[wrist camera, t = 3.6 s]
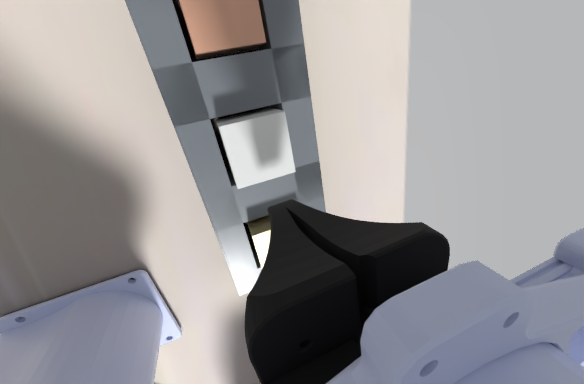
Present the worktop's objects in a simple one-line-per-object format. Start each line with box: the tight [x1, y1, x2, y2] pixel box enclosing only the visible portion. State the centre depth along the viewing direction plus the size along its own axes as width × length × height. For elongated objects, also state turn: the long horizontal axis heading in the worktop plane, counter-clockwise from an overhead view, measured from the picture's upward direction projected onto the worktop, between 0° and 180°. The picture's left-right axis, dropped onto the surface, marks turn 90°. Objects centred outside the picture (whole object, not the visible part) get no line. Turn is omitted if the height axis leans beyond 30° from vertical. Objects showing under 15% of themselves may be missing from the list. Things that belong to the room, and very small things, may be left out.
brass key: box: [247, 215, 271, 267], centre depth 18 cm, size 4×4×3 cm
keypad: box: [125, 0, 326, 296], centre depth 16 cm, size 8×22×3 cm, turn 10°
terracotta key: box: [178, 0, 266, 60], centre depth 13 cm, size 4×4×3 cm
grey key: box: [216, 107, 296, 189], centre depth 15 cm, size 4×4×3 cm
